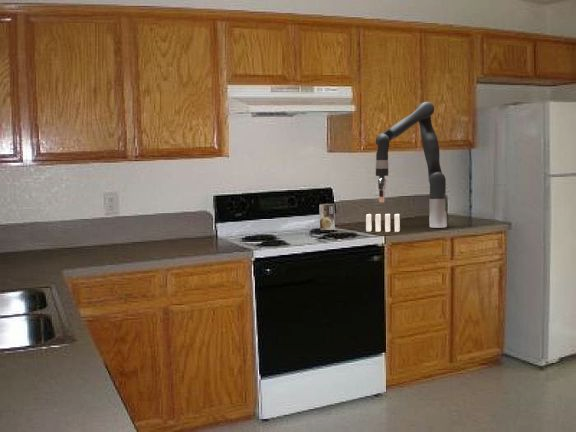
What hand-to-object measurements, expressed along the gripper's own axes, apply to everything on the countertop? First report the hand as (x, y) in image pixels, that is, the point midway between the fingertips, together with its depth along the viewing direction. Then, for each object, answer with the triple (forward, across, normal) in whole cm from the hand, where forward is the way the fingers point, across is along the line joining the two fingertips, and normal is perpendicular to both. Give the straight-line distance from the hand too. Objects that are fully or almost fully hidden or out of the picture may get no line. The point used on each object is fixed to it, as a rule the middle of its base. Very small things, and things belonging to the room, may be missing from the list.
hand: (381, 196), depth 361 cm
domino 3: (+3, 0, 0) cm, 3 cm away
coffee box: (+21, +4, -32) cm, 39 cm away
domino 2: (+20, +9, -1) cm, 22 cm away
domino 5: (+20, +9, +10) cm, 24 cm away
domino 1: (+20, +9, -6) cm, 23 cm away
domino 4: (+20, +9, +5) cm, 23 cm away
